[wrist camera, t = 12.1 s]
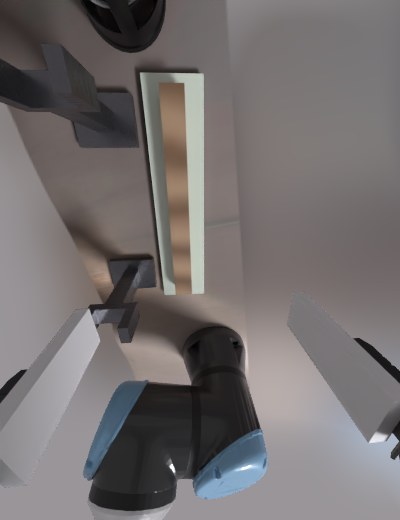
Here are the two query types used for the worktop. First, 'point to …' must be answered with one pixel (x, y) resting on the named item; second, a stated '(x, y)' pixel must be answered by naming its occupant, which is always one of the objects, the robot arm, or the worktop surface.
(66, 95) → the rack
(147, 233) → the worktop surface
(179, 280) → the rail
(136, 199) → the worktop surface
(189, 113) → the board
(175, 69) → the worktop surface
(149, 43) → the french press
